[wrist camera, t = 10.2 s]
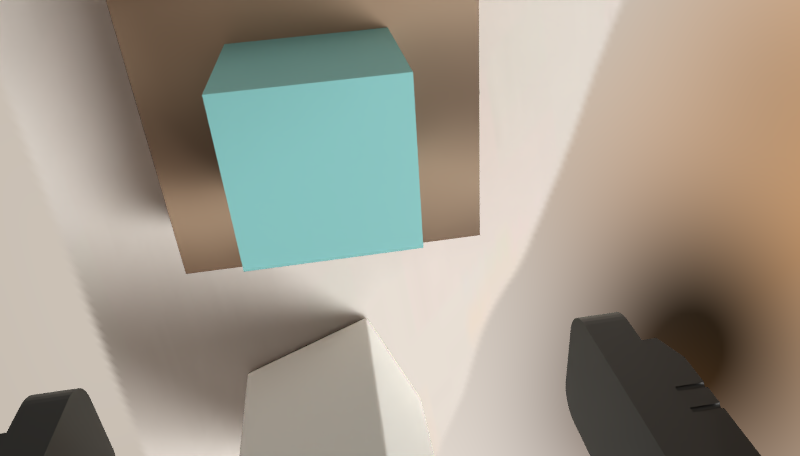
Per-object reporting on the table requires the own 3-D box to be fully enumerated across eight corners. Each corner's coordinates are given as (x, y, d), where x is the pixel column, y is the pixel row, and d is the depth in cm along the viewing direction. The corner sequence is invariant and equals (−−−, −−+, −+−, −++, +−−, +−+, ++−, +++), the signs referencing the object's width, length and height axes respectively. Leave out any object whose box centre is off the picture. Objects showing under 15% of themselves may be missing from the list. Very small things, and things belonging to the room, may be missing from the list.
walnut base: (122, -65, 22) (90, -54, 19) (451, -94, 23) (478, -88, 20) (199, 224, 28) (186, 274, 25) (458, 192, 29) (479, 234, 26)
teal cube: (224, 43, 21) (201, 94, 16) (387, 27, 21) (413, 71, 16) (255, 191, 23) (243, 271, 19) (398, 173, 24) (423, 247, 19)
